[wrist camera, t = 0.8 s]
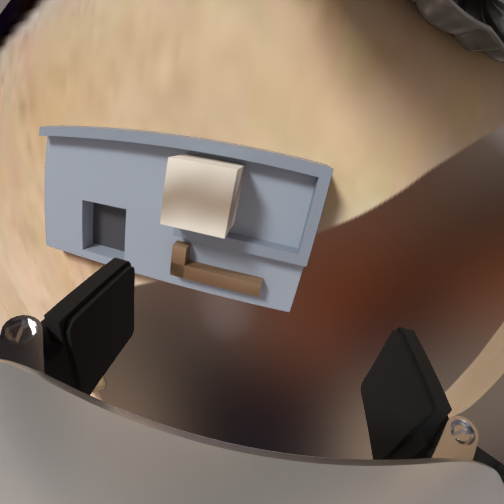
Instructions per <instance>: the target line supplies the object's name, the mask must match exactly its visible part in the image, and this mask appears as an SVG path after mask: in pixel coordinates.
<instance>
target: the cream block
mask: <svg viewBox="0 0 504 504" xmlns="http://www.w3.org/2000/svg"><path fill="white" fill-rule="evenodd" d="M245 167H246V164H241V163H236V162H231V161H226V160H220V159H215V158H209V157H204V156H198V155H192V154H183V155H177V156H172V157H168V162H167V169H166V176H165V184H164V192H163V200H162V209H161V219H160V224H163V225H167V226H171V227H176V228H180V229H184V230H189V231H193V232H197V233H202V234H206V235H210V236H215V237H219V238H223V239H225V237H226V236H227V234H228V232H229V231H230V229H231V228H232V226H233V224H234V223H235V218H236V212H237V207H238V202H239V197H240V192H241V187H242V182H243V177H244V172H245Z"/></svg>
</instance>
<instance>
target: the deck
mask: <svg viewBox="0 0 504 504" xmlns="http://www.w3.org/2000/svg"><path fill="white" fill-rule="evenodd" d="M39 136H47V147H46V162H45V229H46V244H47V246H50V247H53V248H56V249H59V250H62V251H65V252H68V253H71V254H74V255H78V256H81V257H84V258H87V259H90V260H93V261H97V262H100V263H103V264H107V263H108V262H109V261H111V260H112V259H113V258H119V259H123V260H126V261H129V262H130V263H131V266H132V267H134V269H135V273H136V274H140V275H143V276H147V277H150V278H154V279H158V280H161V281H165V282H168V283H172V284H176V285H179V286H183V287H187V288H191V289H195V290H198V291H203V292H206V293H210V294H214V295H218V296H222V297H226V298H230V299H234V300H238V301H242V302H247V303H251V304H255V305H259V306H264V307H268V308H273V309H277V310H281V311H286V312H290V309H291V306H292V303H293V300H294V296H295V293H296V290H297V287H298V284H299V280H300V277H301V273H302V270H303V267H304V266H305V267H306V266H307V263H308V259H309V256H310V253H311V249H312V246H313V242H314V239H315V235H316V232H317V228H318V225H319V221H320V218H321V214H322V210H323V207H324V203H325V199H326V195H327V192H328V188H329V184H330V180H331V176H332V172H333V168H331V167H330V166H328V165H325V164H322V163H318V162H314V161H310V160H306V159H302V158H298V157H294V156H290V155H285V154H281V153H277V152H272V151H268V150H263V149H258V148H253V147H248V146H243V145H238V144H233V143H227V142H221V141H216V140H210V139H203V138H197V137H190V136H183V135H176V134H168V133H160V132H152V131H142V130H132V129H121V128H107V127H91V126H64V125H61V126H46V127H40V132H39ZM183 154H192V155H198V156H204V157H209V158H215V159H220V160H226V161H231V162H236V163H241V164H246V167H245V172H244V177H243V182H242V187H241V192H240V197H239V202H238V207H237V212H236V218H235V223H234V224H233V226H232V228H231V229H230V231H229V232H228V234H227V236H226V237H225V239H223V238H219V237H215V236H210V235H206V234H202V233H197V232H193V231H189V230H184V229H180V228H176V227H171V226H167V225H163V224H160V219H161V209H162V200H163V192H164V184H165V176H166V169H167V162H168V157H172V156H177V155H183ZM177 240H179V241H183V242H187V243H191V246H190V254H189V260H191V261H195V262H199V263H203V264H207V265H212V266H216V267H220V268H224V269H228V270H232V271H236V272H240V273H245V274H249V275H253V276H257V277H262V278H263V281H262V286H261V290H260V294H259V297H257V296H252V295H248V294H244V293H240V292H236V291H232V290H227V289H223V288H219V287H215V286H211V285H207V284H203V283H200V282H196V281H192V280H188V279H184V278H180V277H177V276H173V275H170V266H171V255H172V245H173V244H174V243H175V242H176V241H177Z"/></svg>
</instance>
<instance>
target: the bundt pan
mask: <svg viewBox="0 0 504 504" xmlns="http://www.w3.org/2000/svg"><path fill="white" fill-rule="evenodd" d="M412 1H414V2H416V5H417V7H418V9H419V11H420V13H421V14H422V15H423V17H424V18H425V19H426V20H427V21H428V22H429V23H430V24H432V25H433V26H434V27H436V28H438V29H439V30H441V31H443V32H446V33H449V34H453V35H455V37H456V38H457V40H458V41H459V43H460V45H461V46H462V47H463V48H464V49H466V50H468V51H472V52H474V51H482V52H483V53H484V54H485V55H487V56H488V57H490V58H492V59H494V60H496V61H499V62H502V63H504V0H412Z"/></svg>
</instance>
